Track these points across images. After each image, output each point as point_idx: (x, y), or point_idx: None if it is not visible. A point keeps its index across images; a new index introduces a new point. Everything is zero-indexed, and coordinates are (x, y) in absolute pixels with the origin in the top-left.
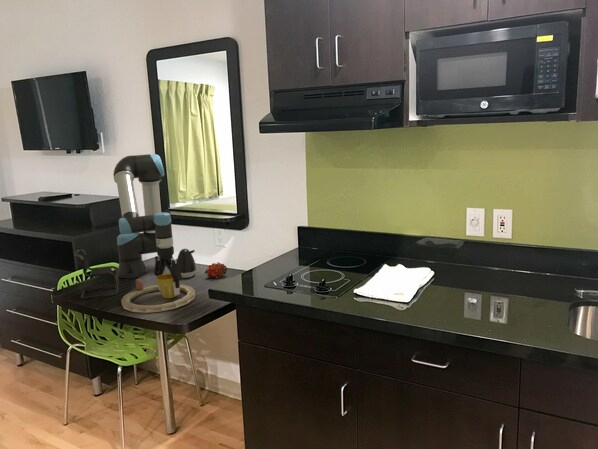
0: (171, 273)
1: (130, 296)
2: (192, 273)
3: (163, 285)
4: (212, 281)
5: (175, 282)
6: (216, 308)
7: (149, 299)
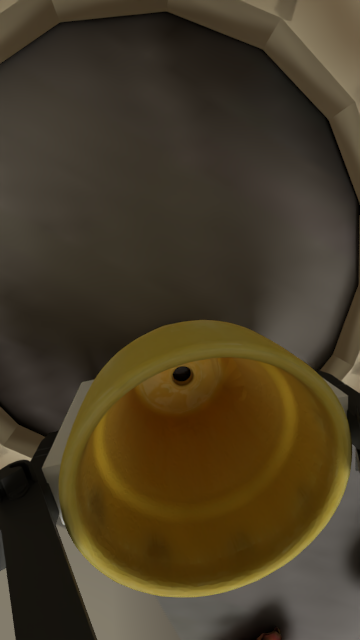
0: (49, 585)
1: (343, 93)
2: None
3: (125, 349)
4: (213, 618)
5: (45, 474)
6: None
7: (230, 235)
